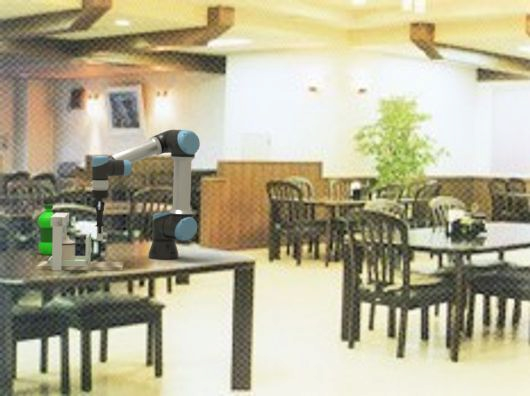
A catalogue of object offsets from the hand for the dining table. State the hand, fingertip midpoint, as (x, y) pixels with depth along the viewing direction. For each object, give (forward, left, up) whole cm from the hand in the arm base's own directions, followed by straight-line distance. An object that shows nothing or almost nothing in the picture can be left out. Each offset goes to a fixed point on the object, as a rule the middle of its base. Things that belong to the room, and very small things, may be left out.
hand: (99, 240), depth 435 cm
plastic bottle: (+28, -44, -13) cm, 54 cm away
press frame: (+18, 0, -13) cm, 22 cm away
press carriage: (+14, 0, -11) cm, 18 cm away
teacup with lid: (+17, 0, -10) cm, 19 cm away
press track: (+8, 0, -13) cm, 15 cm away
